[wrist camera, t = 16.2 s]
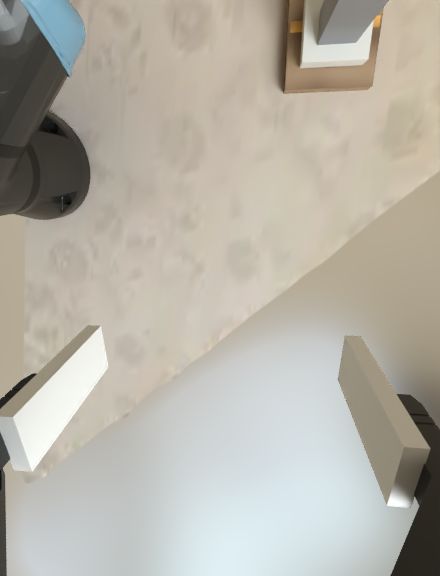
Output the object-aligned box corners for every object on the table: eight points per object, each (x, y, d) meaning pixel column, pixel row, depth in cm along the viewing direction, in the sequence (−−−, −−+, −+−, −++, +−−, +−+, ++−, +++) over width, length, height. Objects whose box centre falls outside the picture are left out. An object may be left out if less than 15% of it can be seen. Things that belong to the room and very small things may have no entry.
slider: (362, 65, 34) (425, 1, 21) (299, 68, 35) (323, 9, 22) (371, -3, 32) (447, -119, 19) (304, 2, 33) (333, -106, 20)
